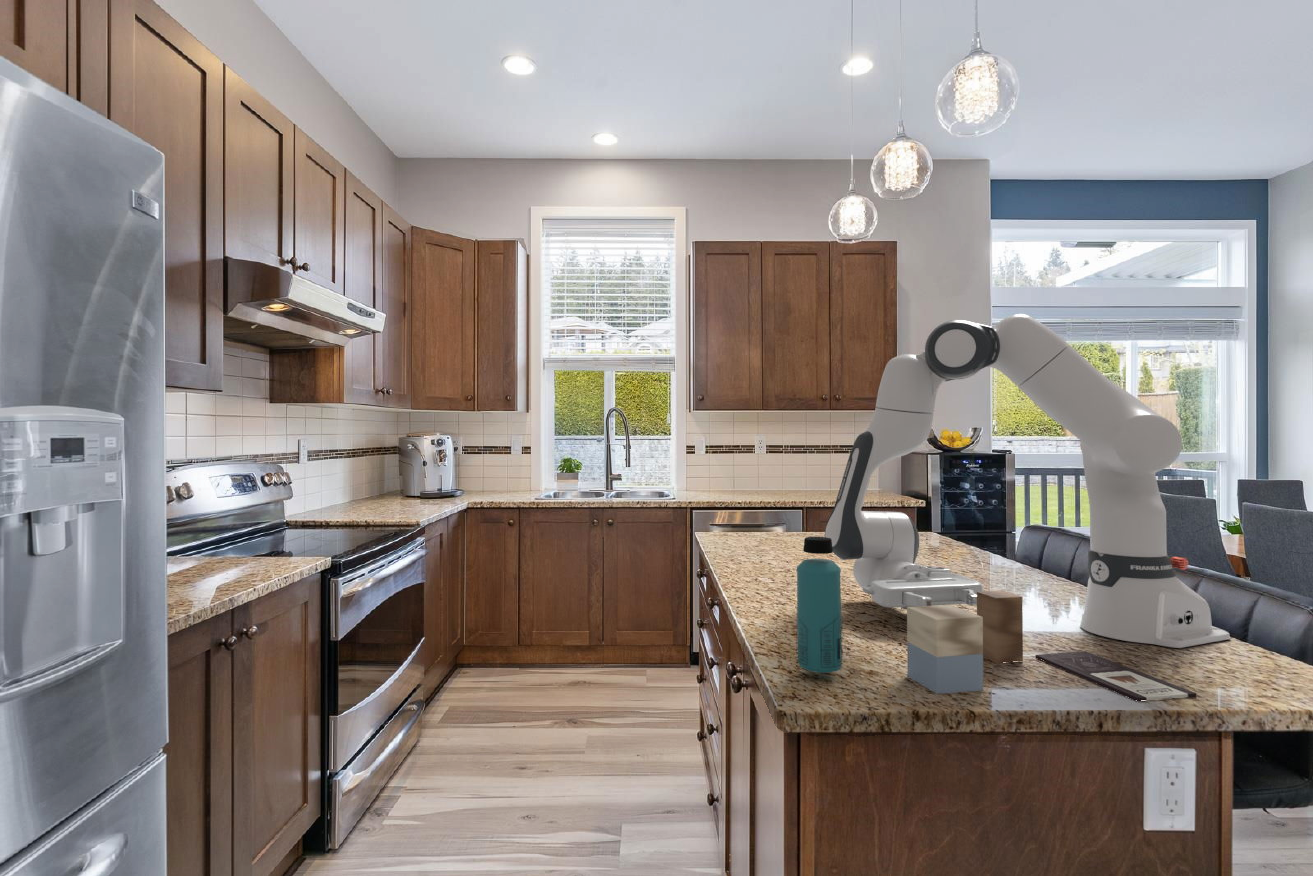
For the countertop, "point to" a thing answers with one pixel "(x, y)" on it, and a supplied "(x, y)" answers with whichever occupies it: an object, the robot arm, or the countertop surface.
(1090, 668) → the chocolate bar
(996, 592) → the pillar
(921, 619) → the tower top
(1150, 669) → the countertop surface
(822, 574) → the beverage bottle
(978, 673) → the tower base
